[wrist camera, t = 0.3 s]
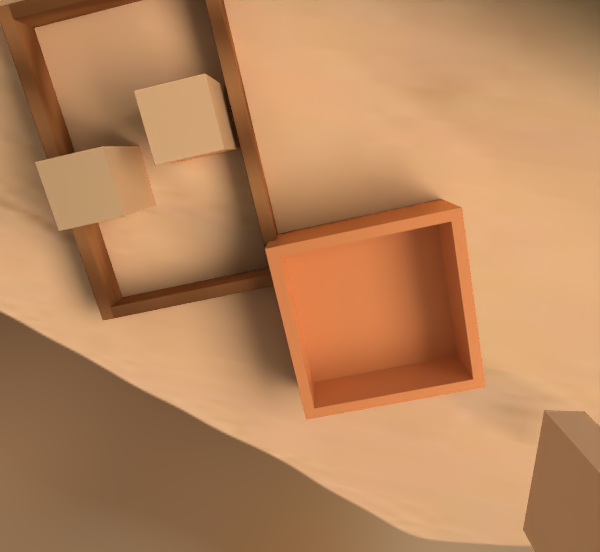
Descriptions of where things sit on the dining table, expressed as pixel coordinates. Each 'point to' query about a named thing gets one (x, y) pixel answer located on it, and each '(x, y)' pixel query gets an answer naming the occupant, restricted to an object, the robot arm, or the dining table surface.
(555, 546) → the robot arm
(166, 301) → the tray
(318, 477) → the dining table surface
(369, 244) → the orange storage bin
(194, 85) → the cream tall block
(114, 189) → the beige rectangular block
